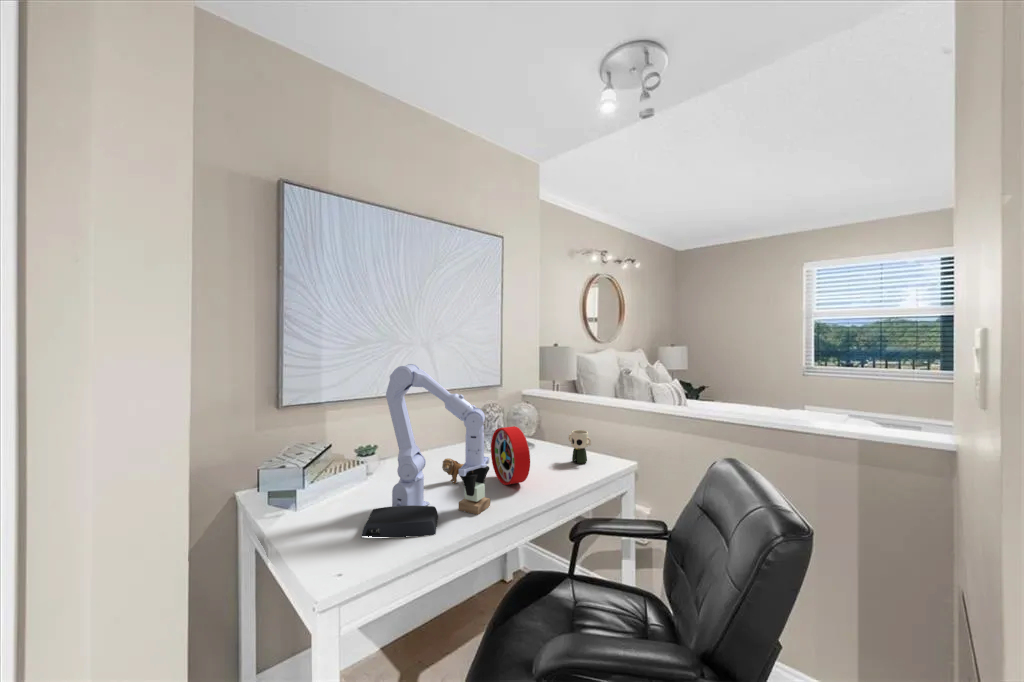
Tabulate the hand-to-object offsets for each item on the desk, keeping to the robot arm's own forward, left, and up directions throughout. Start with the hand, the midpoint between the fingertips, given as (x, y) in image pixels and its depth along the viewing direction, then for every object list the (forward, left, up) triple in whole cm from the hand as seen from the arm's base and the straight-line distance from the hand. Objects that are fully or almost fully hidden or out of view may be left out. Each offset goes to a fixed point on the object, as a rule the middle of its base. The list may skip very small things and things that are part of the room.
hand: (474, 492), depth 127 cm
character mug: (+60, -14, -5) cm, 62 cm away
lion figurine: (+17, +17, -5) cm, 24 cm away
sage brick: (0, 0, -2) cm, 2 cm away
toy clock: (+25, +1, -5) cm, 26 cm away
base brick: (0, 0, -5) cm, 5 cm away
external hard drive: (-20, +11, -6) cm, 23 cm away
